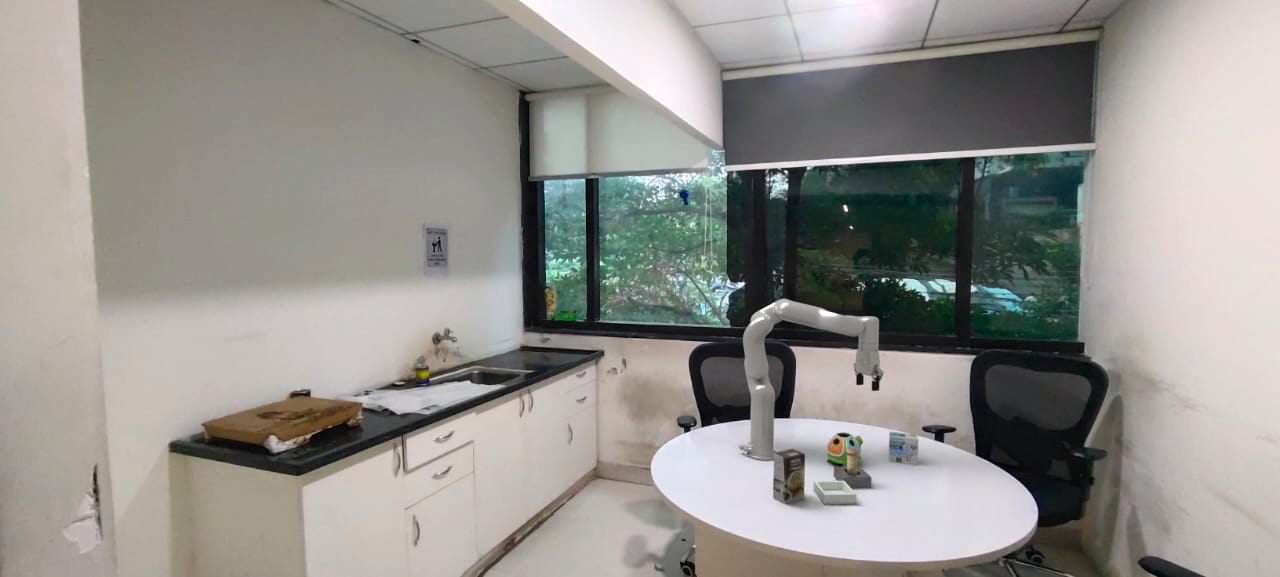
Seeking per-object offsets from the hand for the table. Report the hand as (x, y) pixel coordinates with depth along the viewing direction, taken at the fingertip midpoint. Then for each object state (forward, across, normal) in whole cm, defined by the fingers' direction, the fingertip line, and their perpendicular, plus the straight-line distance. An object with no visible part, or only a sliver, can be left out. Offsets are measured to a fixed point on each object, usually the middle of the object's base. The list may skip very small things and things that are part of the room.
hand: (867, 387), depth 225 cm
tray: (+30, +28, -34) cm, 53 cm away
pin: (+30, +19, -21) cm, 41 cm away
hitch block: (+30, +19, -21) cm, 41 cm away
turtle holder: (+30, +2, -11) cm, 32 cm away
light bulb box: (+30, +7, +12) cm, 33 cm away
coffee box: (+30, +24, -50) cm, 63 cm away
